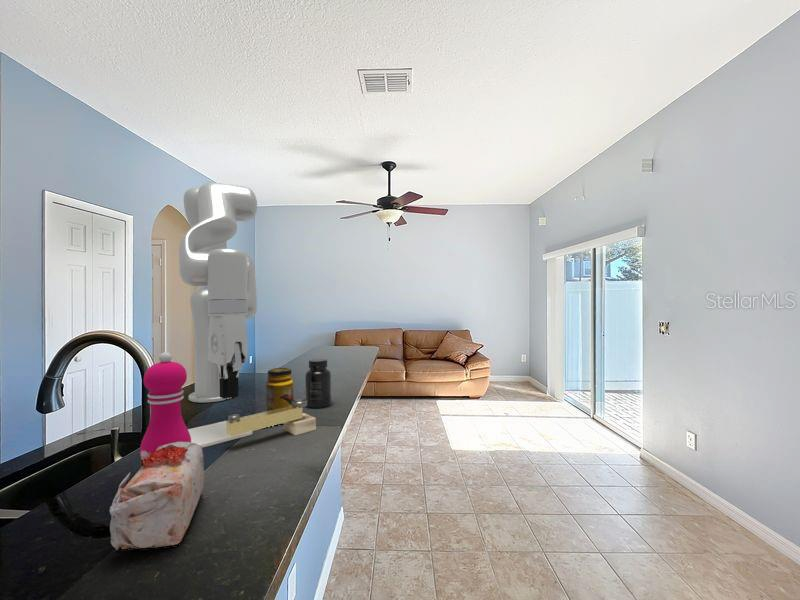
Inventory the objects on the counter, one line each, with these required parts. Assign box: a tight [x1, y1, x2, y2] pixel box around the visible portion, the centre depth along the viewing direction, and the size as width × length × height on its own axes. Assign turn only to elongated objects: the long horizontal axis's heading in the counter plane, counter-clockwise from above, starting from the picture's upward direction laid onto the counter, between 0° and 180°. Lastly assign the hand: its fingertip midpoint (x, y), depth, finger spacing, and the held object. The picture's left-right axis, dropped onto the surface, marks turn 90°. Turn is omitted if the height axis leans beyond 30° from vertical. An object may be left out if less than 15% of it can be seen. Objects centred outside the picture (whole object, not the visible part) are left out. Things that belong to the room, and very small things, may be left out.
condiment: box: [265, 367, 294, 424], centre depth 88 cm, size 7×8×12 cm
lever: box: [225, 398, 307, 436], centre depth 77 cm, size 3×17×3 cm, turn 135°
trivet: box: [187, 420, 253, 449], centre depth 80 cm, size 11×11×1 cm
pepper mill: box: [139, 351, 191, 462], centre depth 62 cm, size 7×7×20 cm
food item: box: [109, 442, 205, 551], centre depth 48 cm, size 14×8×10 cm, turn 18°
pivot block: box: [283, 412, 317, 436], centre depth 82 cm, size 5×5×2 cm
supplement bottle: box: [304, 358, 332, 409], centre depth 101 cm, size 7×7×12 cm
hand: (229, 396), depth 79 cm, fingers closed
